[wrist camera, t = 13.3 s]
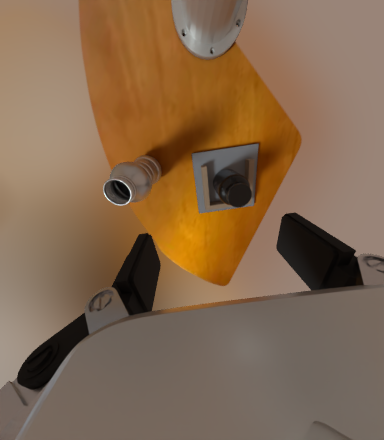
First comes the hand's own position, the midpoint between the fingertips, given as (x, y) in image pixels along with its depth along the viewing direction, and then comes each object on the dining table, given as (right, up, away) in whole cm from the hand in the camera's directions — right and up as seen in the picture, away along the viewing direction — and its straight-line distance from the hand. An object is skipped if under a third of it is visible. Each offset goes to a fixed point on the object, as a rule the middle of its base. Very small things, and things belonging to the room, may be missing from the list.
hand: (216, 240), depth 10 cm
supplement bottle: (+7, +12, +28) cm, 31 cm away
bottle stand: (+7, +12, +28) cm, 32 cm away
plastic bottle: (-13, +15, +26) cm, 32 cm away
